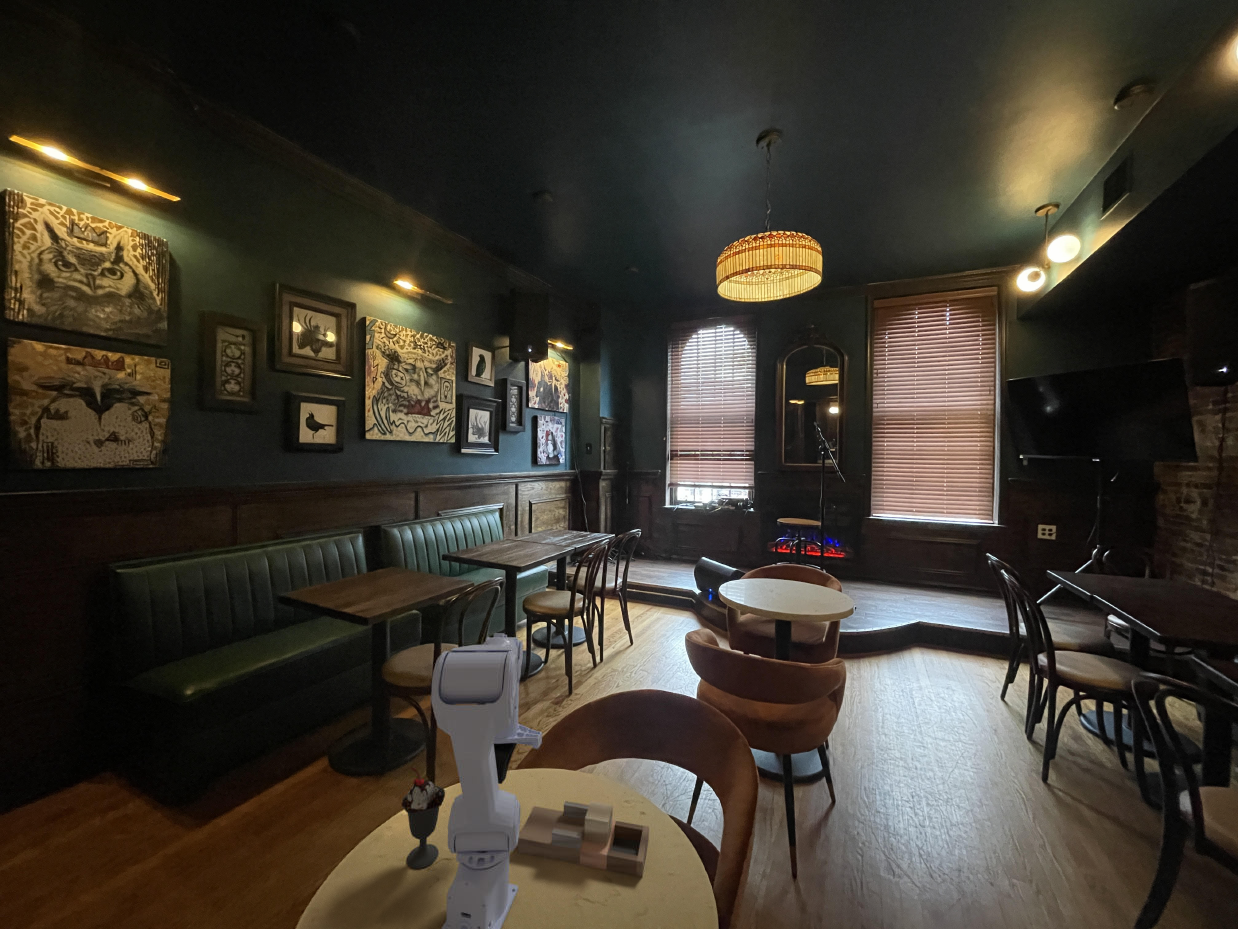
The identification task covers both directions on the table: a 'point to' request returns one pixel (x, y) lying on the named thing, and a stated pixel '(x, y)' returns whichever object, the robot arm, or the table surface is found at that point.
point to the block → (598, 823)
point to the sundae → (423, 819)
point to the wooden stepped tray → (565, 840)
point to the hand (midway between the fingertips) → (500, 779)
